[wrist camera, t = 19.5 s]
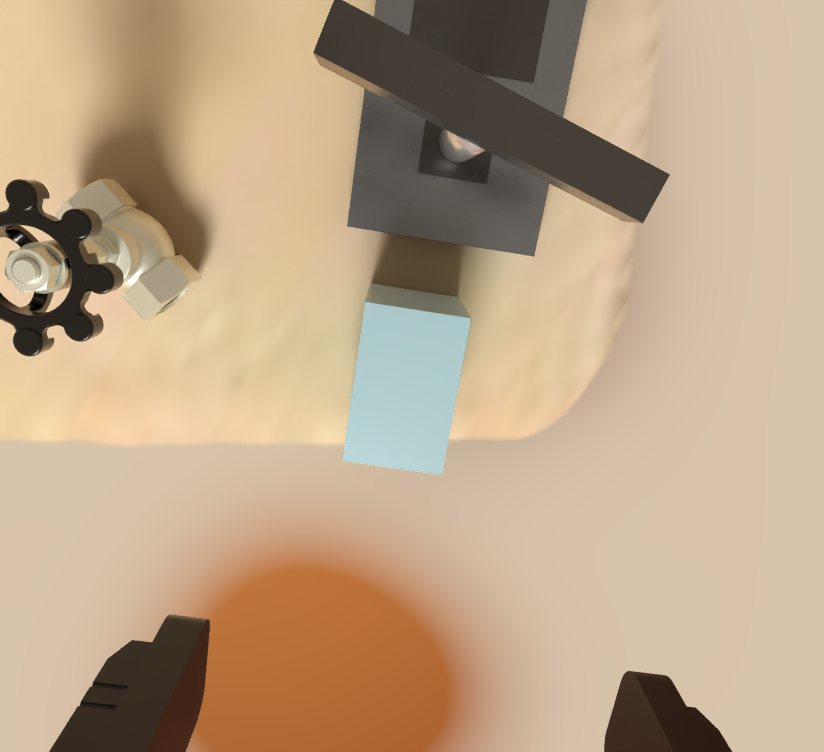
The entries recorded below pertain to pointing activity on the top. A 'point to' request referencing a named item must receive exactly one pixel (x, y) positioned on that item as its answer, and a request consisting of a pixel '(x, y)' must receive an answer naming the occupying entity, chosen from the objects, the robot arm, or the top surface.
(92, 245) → the valve
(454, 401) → the light blue block
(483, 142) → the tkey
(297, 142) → the top surface
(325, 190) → the top surface
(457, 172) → the housing
